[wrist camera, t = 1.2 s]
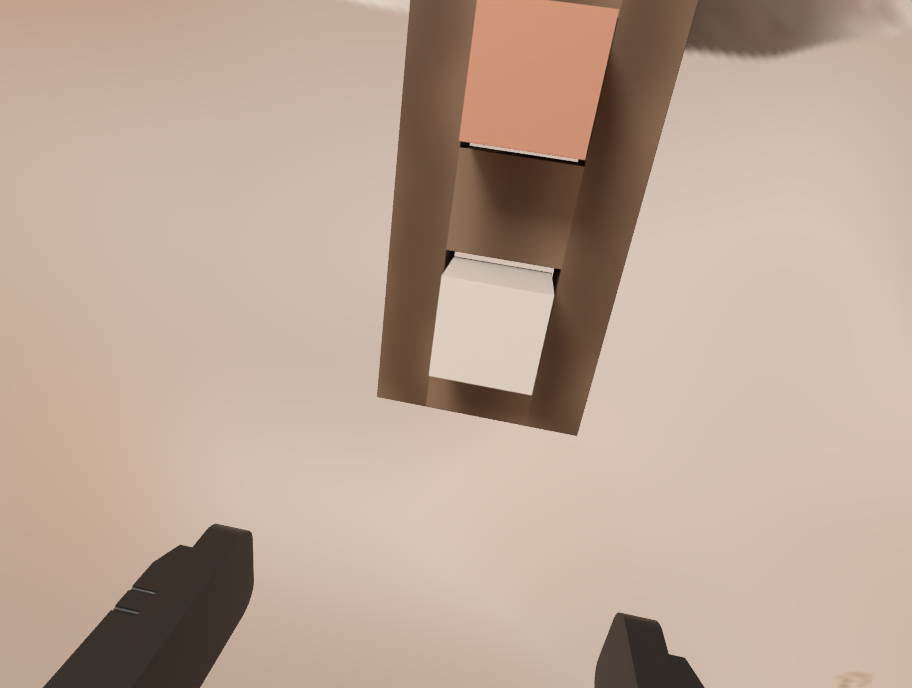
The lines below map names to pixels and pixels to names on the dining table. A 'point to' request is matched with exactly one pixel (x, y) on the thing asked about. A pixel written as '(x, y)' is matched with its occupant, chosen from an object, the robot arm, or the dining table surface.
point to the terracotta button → (536, 75)
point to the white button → (491, 324)
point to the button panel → (520, 207)
